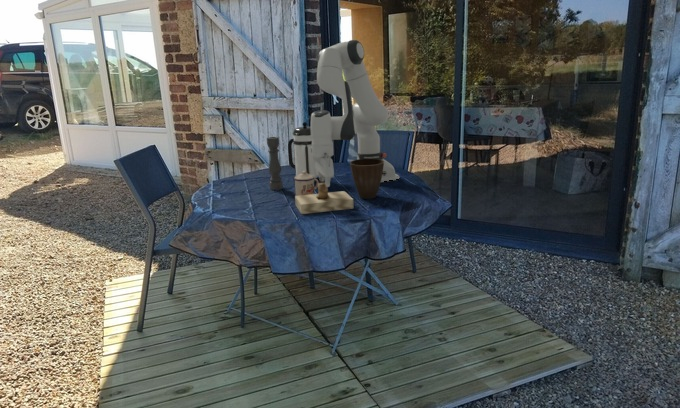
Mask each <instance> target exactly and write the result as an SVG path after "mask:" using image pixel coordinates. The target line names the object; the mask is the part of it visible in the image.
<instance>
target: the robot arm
mask: <svg viewBox="0 0 680 408" xmlns="http://www.w3.org/2000/svg"><path fill="white" fill-rule="evenodd" d="M317 55H318V56H317V62H318V63H317V67H316V69H317V70H316V82H317V86H318V87H319V88H320V89H321V90H322V91H323V92H325V93H328V94H330V95H332V96H335V97H338V98H339V99H341V101H342V108H343V115H342V116H331V113H330V111H329V110H323V109H321V110H316V111H313V112H312V113H311V115H310V127H311V136H312V148H311V152H312V156H313V160H314V166H315V169H316V170H317V171H318V173H319V176H318V177H319V178H320V179H319V182H320V183H325V186H326V187H328V188H329V187H331V180H332V178H334V177H335V169H334V162H333V159H332V157H333V156H335V155H334V152H335V150H334V141H335V140H336V141H337V140H338V141H339V140H341V141H351V140H352V139H353V138H355V136H356V135H357V136H356V137H357V156H356V160H358V159H380V160H383V161H384V166H383V173H382V178H381V183H385V182H384V181H387V182H390V181H389V180H393V181H397V180H396V179H399V178H400V175H399V174H398V173H396V170H395V167H394V166H393V164H391V163H390V162H389V161H387V160H386V159H384V158H387V153H385V152H382V151H381V136H380V135H379V133H378V131H377V129H376V126H381V125H384V124H386V122H387V120H388V119H389V111H388V109H387V107H386V106H385V105H384V104H383V103H382V102H381V101H380V99H379V97H378V95H377V94H376V92H375V91H374V89H373V86H372V83H371V80H370V77H369V74H368V71H367V67H366V65H365V63H364V57H365V48H364V46H363V45H362V43H361V41H359V40H358V39H350V40H349V41H343V42H339V43H336V44H333V45H331V46H329V47H325V48H323V49H321V50H320V51H319V53H318V54H317ZM343 77H344V78H343ZM352 98H353V100H354V101H355V103H353V100H352ZM399 180H400V179H399Z"/></svg>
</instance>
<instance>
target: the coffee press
mask: <svg viewBox="0 0 680 408" xmlns="http://www.w3.org/2000/svg"><path fill="white" fill-rule="evenodd" d="M307 125H308V123H307V122H306V121H303V122H302V126H299V127H296V128H295V129H293V131H292V137H293V138H291V139H289V141H288V143H287V144H288V145H287V153H288V156H287V157H288V162H289V166H290V167H291V168H293V169H294V170H295V171H294V173H295V176H298V175H299V174H301V173H302V171H306V173H308V174H309V175H313V176H314V179H317V178H318V179H319V180H320V177H319V173H318V171H317V170H316V169H315V166H314V160H313V156H312V152H311V148H312V136H311V126H307ZM292 144H293V147H292ZM292 148H293V150H292ZM293 154H294V155H293ZM293 156H294V162H293ZM295 176H294V177H293V178H292V179H293V181H294V182H295V180H294V178H295Z"/></svg>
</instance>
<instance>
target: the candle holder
mask: <svg viewBox="0 0 680 408" xmlns="http://www.w3.org/2000/svg"><path fill="white" fill-rule="evenodd" d="M266 145H267V147H268V153H269V165H268V173H269V174H270V176H271V177H270V179H269V189H270V190H272V191H279V190H283V189H284V186H283V181H282V180H283V179H282V177H281V176H280V175H281V172H282V166H281V164H280V160H279V152H280V150H279V145H280V139H279V136H267V137H266Z"/></svg>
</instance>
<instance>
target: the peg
mask: <svg viewBox="0 0 680 408" xmlns="http://www.w3.org/2000/svg"><path fill="white" fill-rule="evenodd" d="M328 188H329V187H326V186H325V182H319V183H318V187H317V189H318V191H317V192H318V193H317V194H318V196H319V200H322V199H328V193H329V189H328Z"/></svg>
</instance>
